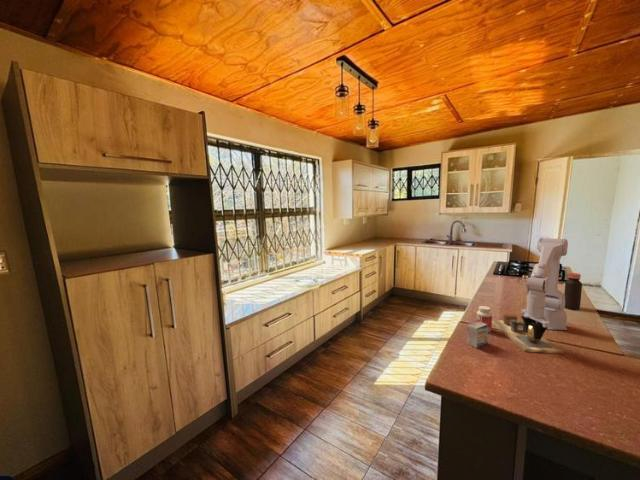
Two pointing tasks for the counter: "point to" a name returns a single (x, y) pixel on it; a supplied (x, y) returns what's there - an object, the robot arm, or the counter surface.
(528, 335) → the cylinder
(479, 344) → the medicine box
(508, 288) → the counter surface
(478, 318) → the pill bottle
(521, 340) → the clamp jig
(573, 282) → the vinegar
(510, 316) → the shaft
